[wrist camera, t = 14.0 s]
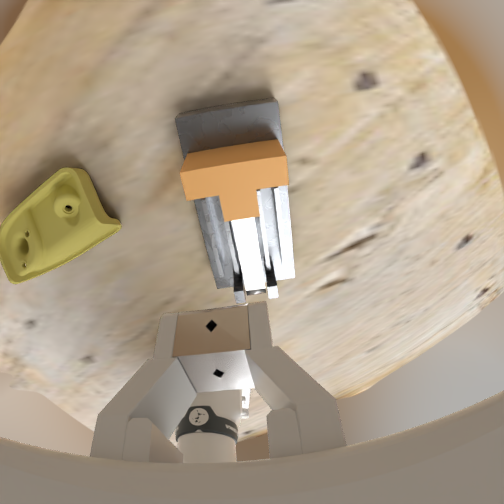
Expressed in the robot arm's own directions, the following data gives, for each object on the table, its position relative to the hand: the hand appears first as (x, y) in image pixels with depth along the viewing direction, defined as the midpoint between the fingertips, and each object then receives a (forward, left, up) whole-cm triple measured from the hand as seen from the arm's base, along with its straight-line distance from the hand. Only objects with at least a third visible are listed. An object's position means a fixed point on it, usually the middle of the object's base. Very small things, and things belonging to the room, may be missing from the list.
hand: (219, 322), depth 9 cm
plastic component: (-9, +27, -32) cm, 42 cm away
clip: (-6, 0, -28) cm, 29 cm away
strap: (-15, 0, -25) cm, 29 cm away
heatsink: (-11, 0, -31) cm, 33 cm away
